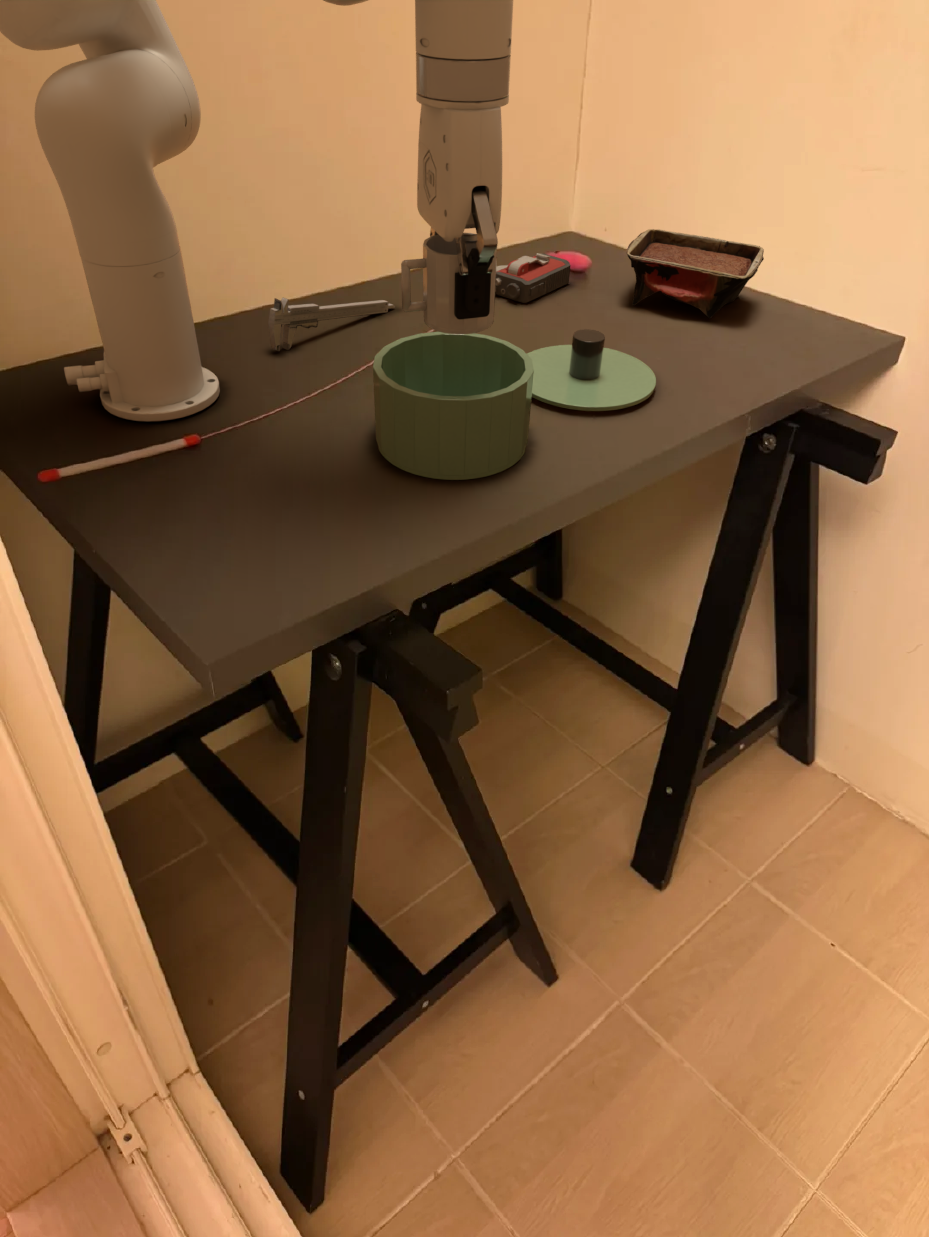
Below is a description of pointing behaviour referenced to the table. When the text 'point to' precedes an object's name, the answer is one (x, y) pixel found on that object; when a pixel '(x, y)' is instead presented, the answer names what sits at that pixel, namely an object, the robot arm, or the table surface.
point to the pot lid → (589, 375)
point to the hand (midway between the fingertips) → (459, 300)
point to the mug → (443, 288)
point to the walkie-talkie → (531, 277)
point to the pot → (452, 404)
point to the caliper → (313, 317)
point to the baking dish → (692, 268)
